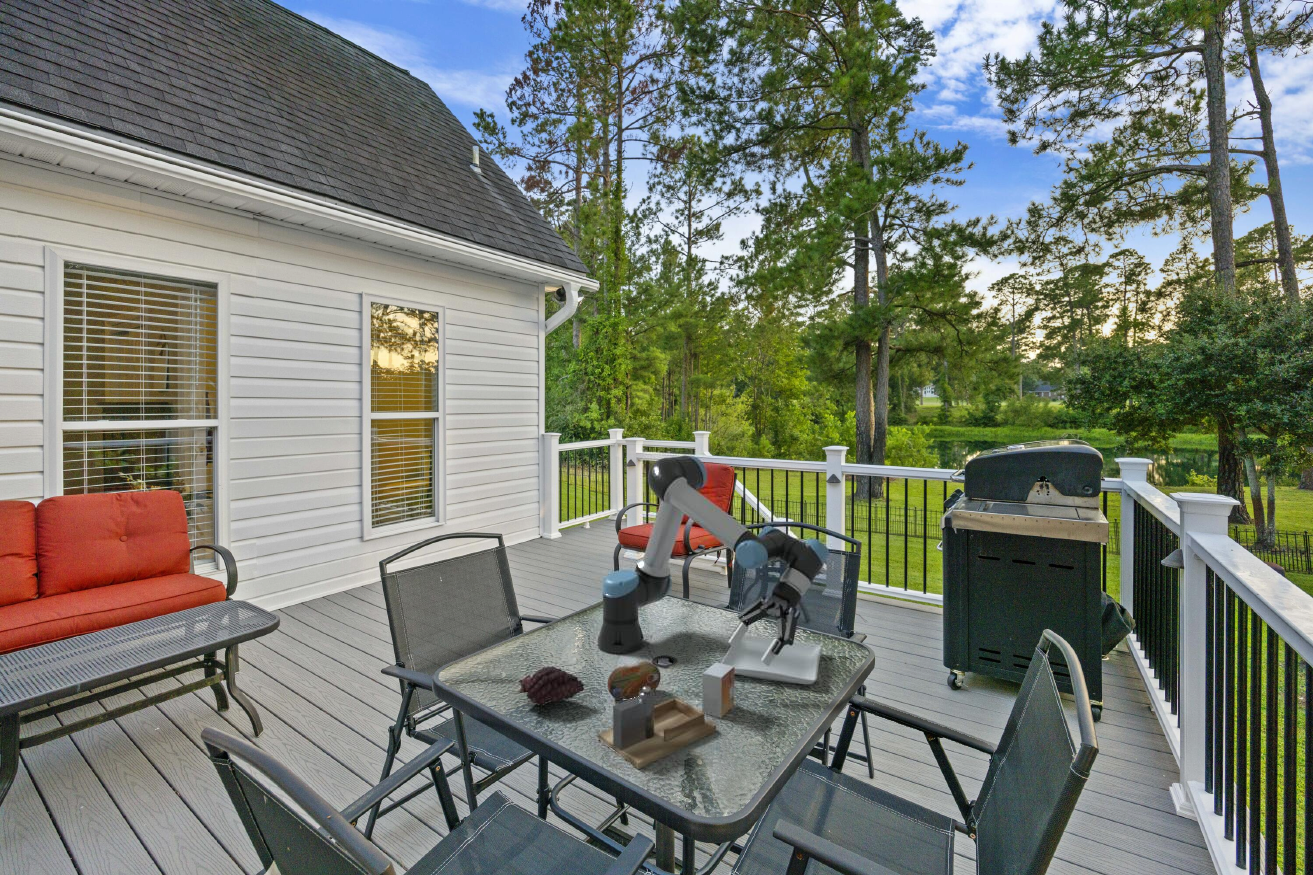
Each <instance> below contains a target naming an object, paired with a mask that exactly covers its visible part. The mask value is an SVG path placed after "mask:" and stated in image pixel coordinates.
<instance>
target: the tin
mask: <svg viewBox="0 0 1313 875" xmlns="http://www.w3.org/2000/svg"><path fill="white" fill-rule="evenodd" d="M660 682H661V672H660V669H659V667H658V666H657V665H655V664H653V663H652V662H649V661H640V662H637V663H633V664H627V665H623V666H619V667H616V668H615V669H614V670H613V671H611V672H610V675H609V676H608V679H607V686H606V687H607V691H608V692H609V694H610V696H612V698H613V699H615V700H616V701H618V702H621V701H620V700H623V699H629V700H630V698H634V697H637V696H639V691H640V690H643V687H644V686H650V690H653V691H654V692H655V691H656V690H657V689H658V687H659V685H660Z"/></svg>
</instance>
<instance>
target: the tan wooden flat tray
mask: <svg viewBox="0 0 1313 875" xmlns="http://www.w3.org/2000/svg"><path fill="white" fill-rule="evenodd" d="M715 732H717V724H715V723H714V722H712V721H710V720H708V719H706V714H705V713H703V712H702V710H699V709H698V708H695V707H694V706H692V705H690V704H688V703H687V702H685V701H682V700H680V699H679V698H677V697H673V698H671V699H668V700H666V701H663V702H661V703H658V704H656V705H654V736H653V737H652V738H649V739H646V740H644V741H641V742H639V743H637V744H635V745H633V746H630V747H628V748H626V749H624V750H622V751H621V750H620V749H618V748H617V747H615V746H614V745H613V727H611V728H609V729H607V730H605V731H602V732H600V733H597V739H598V738H599V739H601V740H602V741H603V742H604V743H606V744H607V745H608V746H609V747H611V748H612V749H613V750H615V751H616V752H617V753H618V754H620V755H621V756H622V757H623V758H624V759H626V760H627V761H628V762H630V763H631V764H632V765H633V766H632V765H631V764H630V763H629V764H630V765H631V766H632V767H634V766H635V767H636V768H637V770H640V769H642V767H643V768H645V767H646V766H648V765H651V764H653V763H655V762H656V761H658V760H661V759H663V758H664V757H667V756H669V755H670V754H673V753H675V752H677V751H679V750H680V749H683V748H685V747H687V746H689V745H691V744H693V743H695V742H697V741H699V740H701V739H702V738H705V737H708V736H709V735H711V734H713V733H715ZM623 758H622V759H623ZM624 759H623V760H624ZM626 760H625V761H626ZM627 761H626V762H627ZM628 762H627V763H628ZM644 766H645V767H644ZM635 767H634V768H635ZM636 768H635V769H636Z"/></svg>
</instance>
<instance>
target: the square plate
mask: <svg viewBox="0 0 1313 875" xmlns="http://www.w3.org/2000/svg"><path fill="white" fill-rule="evenodd" d="M774 639H777V638H774V637H767V636H757V635H749V634H748V635H746V634H745V635H744V636H743V638H742V639H741V641H740V642H739V644H738V645H737V647H736V648H734V647H733V646H732V645H731V646H730V648H729V649H728V651H727V653H726V654H725V656H724V657H723V660H722V661H721V664H725V665H729V666H733V667H734V675H740V676H743V677H747V678H755V679H763V680H768V681H776V682H783V683H789V684H800V685H801V684H802V685H812V684H814V683H815V682H817V679H818V672H819V663H820V659H821V658H820V657H821V654H822V650H823V646H822V645H821V644H816V643H809V642H802V641H796V640H794V642H793V645H792V646H790V645H784V646H783V648H782V649H781V651H780V653H779V654H778V655H776V656H775V657H774V659H773V660H772V662H771V664H770V665H769V666H767V665H766V664H765V663H764V662H763V661H762V660H761V659H762V657H763V656H764V654H765V653H766V651H767V650H768V648H769V646H770V645H771V643H772V642H773V640H774ZM777 640H778V639H777Z"/></svg>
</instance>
